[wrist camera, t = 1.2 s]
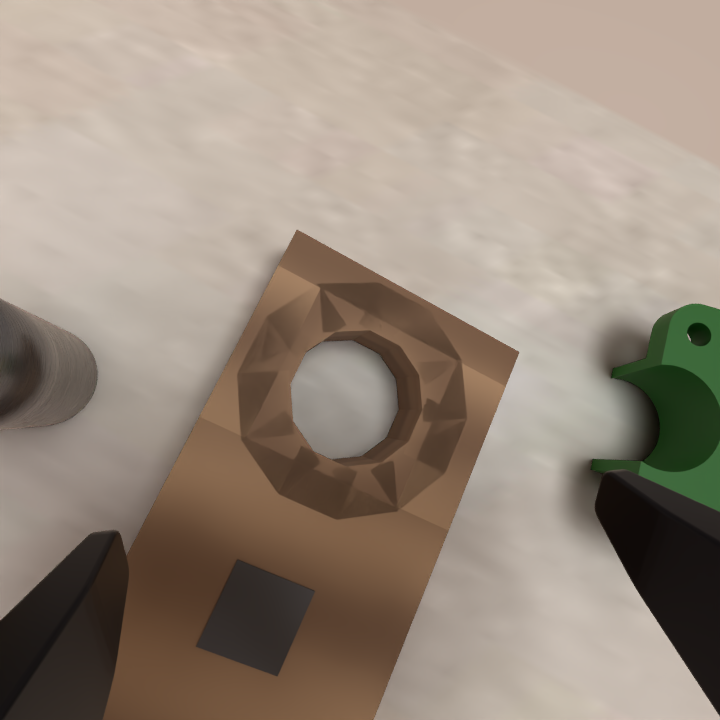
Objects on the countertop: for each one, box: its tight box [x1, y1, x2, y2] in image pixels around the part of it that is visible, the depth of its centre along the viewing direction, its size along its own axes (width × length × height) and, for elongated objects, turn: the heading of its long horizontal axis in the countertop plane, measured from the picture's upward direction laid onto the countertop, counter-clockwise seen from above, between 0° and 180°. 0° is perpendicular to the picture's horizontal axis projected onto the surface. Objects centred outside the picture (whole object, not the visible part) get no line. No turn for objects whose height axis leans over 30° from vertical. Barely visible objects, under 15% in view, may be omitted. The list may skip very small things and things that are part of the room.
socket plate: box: [103, 230, 519, 720], centre depth 21 cm, size 19×11×3 cm, turn 155°
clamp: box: [591, 304, 720, 512], centre depth 25 cm, size 12×6×9 cm, turn 157°
